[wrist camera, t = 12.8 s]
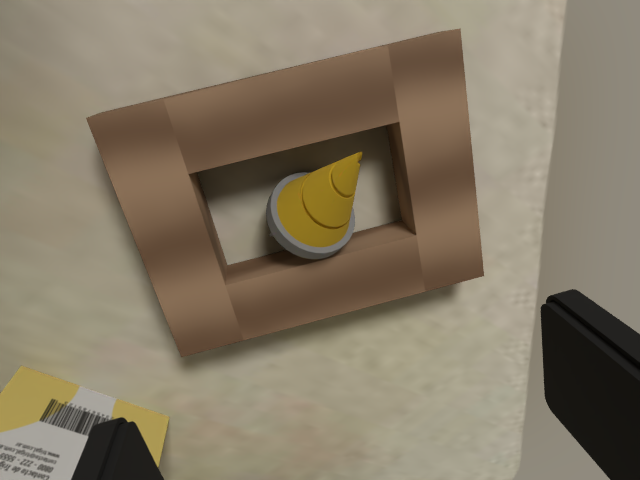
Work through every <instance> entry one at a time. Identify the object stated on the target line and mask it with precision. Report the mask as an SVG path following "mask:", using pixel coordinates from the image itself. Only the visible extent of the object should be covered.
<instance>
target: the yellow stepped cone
mask: <svg viewBox="0 0 640 480" xmlns="http://www.w3.org/2000/svg"><path fill="white" fill-rule="evenodd" d="M361 158H362V152H358V153H356V154H353V155H351V156H348V157H346V158H344V159H342V160H339V161H337V162H334V163H332V164H330V165H327V166H325V167H323V168H320V169H318V170H316V171H313V172H311V173H306V172H303V173H295V174H292V175H289V176H288V177H286V178H284V179H283V180H282V181H280V182H279V183H278V185H277V186H276V188H275V189H274V191H273V192H272V194H271V196H270V197H269V200H268V203H267V208H266V217H267V222H268V226H269V229H270V231H271V233H270V235H269V236H274V237H275V239H276V240H277V241H278V242H279V244H281V245H282V246H283V247H284V248H285V249H286V250H288V251H290V252H291V253H293V254H295V255H297V256H300V257H303V258H307V259H322V258H327V257H329V256H331V255H333V254H335V253H336V252H337V251H339V250H340V249H341V248H342V247H343V246H344V245H345V244H346V243H347V242H348V240H349V239H350V237H351V235H352V233H353V230H354V226H355V216H354V210H353V207H352V206H353V201H354V196H355V190H356V185H357V179H358V174H359V169H360V164H359V163H358V161H360V160H361Z"/></svg>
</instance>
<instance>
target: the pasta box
mask: <svg viewBox="0 0 640 480" xmlns="http://www.w3.org/2000/svg"><path fill="white" fill-rule="evenodd" d="M120 417H124V418H125V419H126V420H127V422H131V421H134V422H135V423H136V425H137V426H138V428H139V430H140V432H141V434H142V437H143V439H144V441H145V443H146V445H147V447H148V449H149V451H150V453H151V455H152V457H153V459H154V461H155V463H156V465H157V467H158V466H159V462H160V457H161V453H162V448H163V444H164V439H165V435H166V430H167V426H168V421H169V417H168V416H165V415H163V414H160V413H157V412H154V411H151V410H148V409H145V408H142V407H139V406H136V405H134V404H131V403H128V402H125V401H122V400H119V399H116V398H113V397H110V396H108V395H105V394H102V393H99V392H96V391H93V390H90V389H87V388H84V387H81V386H79V385H76V384H73V383H70V382H67V381H64V380H61V379H58V378H55V377H52V376H50V375H47V374H44V373H41V372H38V371H35V370H32V369H29V368H26V367H24V366H21V367H20V368H19V369H18V371H17V372H16V373H15V375H14V376H13V377H12V379H11V380H10V381H9V383H8V384H7V385H6V387H5V388H4V389H3V391H2V392H1V393H0V480H71V478H72V476H73V473H74V471H75V469H76V466H77V464H78V461H79V459H80V456H81V454H82V451H83V449H84V447H85V444H86V442H87V439H88V437H89V434H90V432H91V430H92V428H93V426H94V425H96V424H99V423H102V422H106V421H109V420H113V419H116V418H120Z"/></svg>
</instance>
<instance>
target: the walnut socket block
mask: <svg viewBox="0 0 640 480" xmlns="http://www.w3.org/2000/svg"><path fill="white" fill-rule="evenodd" d="M86 119H87V122H88V124H89V127H90V129H91V132H92V134H93V137H94V139H95V142H96V144H97V147H98V149H99V152H100V154H101V157H102V159H103V162H104V164H105V167H106V169H107V172H108V174H109V177H110V179H111V182H112V184H113V187H114V189H115V192H116V194H117V197H118V199H119V202H120V204H121V207H122V209H123V212H124V214H125V217H126V219H127V222H128V224H129V227H130V229H131V232H132V235H133V237H134V240H135V242H136V245H137V247H138V250H139V252H140V255H141V257H142V260H143V262H144V265H145V267H146V270H147V272H148V275H149V277H150V280H151V282H152V285H153V287H154V290H155V292H156V295H157V297H158V300H159V302H160V305H161V307H162V310H163V312H164V315H165V317H166V320H167V322H168V325H169V327H170V330H171V332H172V335H173V337H174V340H175V342H176V345H177V347H178V350H179V352H180V355H181V357H184V356H188V355H191V354H195V353H199V352H202V351H206V350H210V349H214V348H217V347H221V346H225V345H228V344H232V343H236V342H240V341H243V340H247V339H251V338H255V337H258V336H262V335H266V334H269V333H273V332H277V331H281V330H284V329H288V328H292V327H295V326H299V325H303V324H307V323H310V322H314V321H318V320H322V319H325V318H329V317H333V316H336V315H340V314H344V313H348V312H351V311H355V310H359V309H362V308H366V307H370V306H374V305H377V304H381V303H385V302H389V301H392V300H396V299H400V298H403V297H407V296H411V295H415V294H418V293H422V292H426V291H429V290H433V289H437V288H441V287H444V286H448V285H452V284H456V283H459V282H463V281H467V280H470V279H474V278H478V277H482V276H484V271H483V260H482V250H481V239H480V229H479V218H478V208H477V198H476V187H475V177H474V166H473V156H472V145H471V135H470V125H469V114H468V104H467V93H466V83H465V72H464V62H463V51H462V41H461V31H460V29H455V30H448V31H442V32H437V33H433V34H428V35H424V36H420V37H416V38H412V39H407V40H403V41H399V42H395V43H391V44H387V45H382V46H378V47H374V48H370V49H366V50H361V51H357V52H353V53H349V54H345V55H340V56H336V57H332V58H328V59H324V60H319V61H315V62H311V63H307V64H303V65H299V66H294V67H290V68H286V69H282V70H278V71H273V72H269V73H265V74H261V75H257V76H252V77H248V78H244V79H240V80H236V81H231V82H227V83H223V84H219V85H215V86H211V87H206V88H202V89H198V90H194V91H190V92H185V93H181V94H177V95H173V96H169V97H164V98H160V99H156V100H152V101H148V102H143V103H139V104H135V105H131V106H127V107H122V108H118V109H114V110H110V111H106V112H102V113H99V114H96V115H93V116H90V117H88V118H86ZM384 125H387V131H388V138H389V144H390V150H391V156H392V162H393V168H394V175H395V181H396V187H397V193H398V199H399V205H400V212H401V218H402V220H401V221H397V222H393V223H389V224H385V225H382V226H378V227H374V228H370V229H366V230H362V231H358V232H355V233H352V235H351V237H350V239H349V240H348V242H347V243H346V244H345V245H344V246H343V247H342V248H341V249H340V250H339V251H337V252H336V253H335V254H333V255H331V256H329V257H327V258H322V259H307V258H303V257H300V256H297V255H295V254H293V253H291V252H290V251H288V250H285V251H281V252H278V253H274V254H270V255H266V256H262V257H258V258H254V259H251V260H247V261H243V262H239V263H235V264H231V265H227V263H226V260H225V256H224V253H223V250H222V247H221V244H220V241H219V238H218V235H217V232H216V229H215V226H214V223H213V220H212V217H211V213H210V210H209V207H208V204H207V201H206V198H205V195H204V192H203V189H202V186H201V183H200V180H199V177H198V173H197V172H199V171H203V170H207V169H211V168H215V167H219V166H223V165H227V164H231V163H235V162H239V161H243V160H247V159H251V158H255V157H259V156H263V155H267V154H271V153H275V152H279V151H283V150H287V149H291V148H295V147H299V146H303V145H307V144H311V143H316V142H320V141H324V140H328V139H332V138H336V137H340V136H344V135H348V134H352V133H356V132H360V131H364V130H368V129H372V128H376V127H380V126H384Z"/></svg>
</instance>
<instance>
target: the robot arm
mask: <svg viewBox="0 0 640 480" xmlns="http://www.w3.org/2000/svg"><path fill="white" fill-rule="evenodd" d="M541 327H542V347H543V368H544V387H545V388H544V390H545V399H546V402H547V404H548V406H549V408H550V410H551V411H552V412H553V414H554V415H555V416H556V417H557V418H558V419H559V421H560V422H561V423H562V424H563V425H564V426H565V428H566V429H567V430H568V431H569V432H570V433H571V434H572V436H573V437H574V438H575V439H576V440H577V441H578V443H579V444H580V445H581V446H582V447H583V448H584V450H585V451H586V452H587V453H588V454H589V455H590V457H591V458H592V459H593V460H594V461H595V462H596V463H597V465H598V466H599V467H600V468H601V469H602V470H603V471H604V473H605V474H606V475H607V476H608V477H609V478H610V480H640V334H639V333H637V332H636V331H634V330H633V329H632V328H630V327H629V326H627V325H626V324H624V323H623V322H622V321H620V320H619V319H617V318H616V317H614V316H613V315H612V314H610V313H609V312H607V311H606V310H605V309H603V308H602V307H600V306H599V305H597V304H596V303H595V302H593V301H592V300H590V299H589V298H588V297H586V296H585V295H583V294H582V293H580V292H579V291H577V290H573V289H572V290H568V291H565V292H561V293H558V294H554V295H551V296H549V297H548V298H547V300H546V304H543V305H542V306H541ZM71 480H164V479H163V477H162V475H161V473H160V471H159V469H158V467H157V465H156V463H155V461H154V459H153V457H152V455H151V453H150V451H149V449H148V447H147V445H146V443H145V441H144V439H143V437H142V434H141V432H140V430H139V428H138V426H137V425H136V423H135V422H134V421H131V422H127V420H126V419H125V418H124V417H120V418H116V419H113V420H109V421H106V422H102V423H99V424H96V425H94V426H93V428H92V430H91V432H90V434H89V437H88V439H87V442H86V444H85V447H84V449H83V451H82V454H81V456H80V459H79V461H78V464H77V466H76V469H75V471H74V473H73V476H72V478H71Z"/></svg>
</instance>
